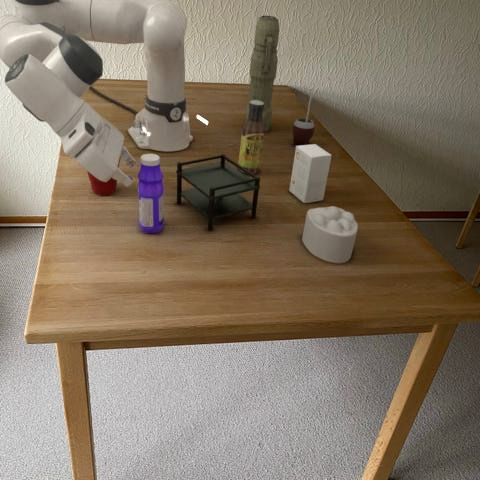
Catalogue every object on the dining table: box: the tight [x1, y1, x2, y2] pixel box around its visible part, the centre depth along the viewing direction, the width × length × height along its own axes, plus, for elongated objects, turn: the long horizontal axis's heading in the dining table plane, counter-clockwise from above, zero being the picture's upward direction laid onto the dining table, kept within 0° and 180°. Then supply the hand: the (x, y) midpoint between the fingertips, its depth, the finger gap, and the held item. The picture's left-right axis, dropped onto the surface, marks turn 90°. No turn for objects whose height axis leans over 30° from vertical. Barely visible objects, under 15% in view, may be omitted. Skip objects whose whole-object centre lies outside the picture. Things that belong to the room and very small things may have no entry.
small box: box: [288, 143, 333, 204], centre depth 137 cm, size 8×6×13 cm
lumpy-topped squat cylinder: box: [301, 205, 359, 264], centre depth 117 cm, size 10×13×9 cm
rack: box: [175, 153, 261, 232], centre depth 126 cm, size 16×14×11 cm
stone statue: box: [244, 15, 280, 133], centre depth 169 cm, size 9×12×35 cm
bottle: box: [137, 153, 165, 234], centre depth 115 cm, size 7×6×17 cm
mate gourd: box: [292, 93, 315, 147], centre depth 167 cm, size 8×8×15 cm
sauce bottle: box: [237, 100, 265, 175], centre depth 145 cm, size 6×6×20 cm
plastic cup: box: [86, 157, 122, 196], centre depth 130 cm, size 11×11×12 cm
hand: (132, 173), depth 112 cm, fingers open, 8 cm apart
